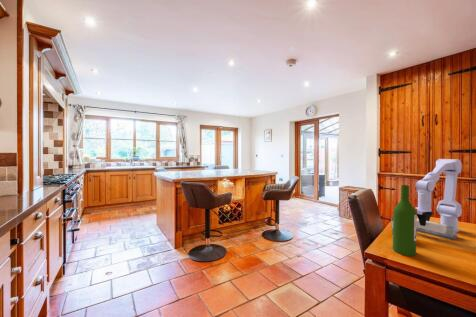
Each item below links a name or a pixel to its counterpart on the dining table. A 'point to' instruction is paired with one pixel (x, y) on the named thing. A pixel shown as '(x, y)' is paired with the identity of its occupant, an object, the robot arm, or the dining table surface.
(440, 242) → the dining table surface
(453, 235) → the stand
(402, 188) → the wine bottle
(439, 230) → the rail
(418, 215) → the robot arm
